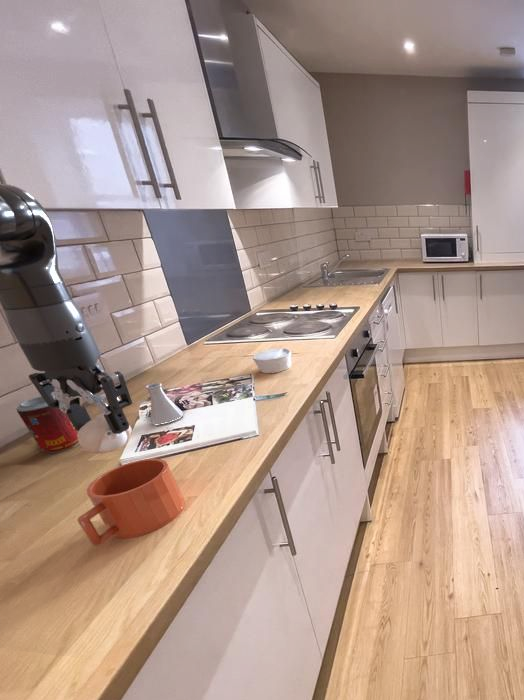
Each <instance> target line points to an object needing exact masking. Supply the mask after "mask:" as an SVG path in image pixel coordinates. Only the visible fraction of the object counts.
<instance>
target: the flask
mask: <svg viewBox="0 0 524 700" xmlns="http://www.w3.org/2000/svg"><path fill="white" fill-rule="evenodd" d="M145 389H146V390H147V391H148V393H149V398H150V418H149V419H150V422H151V423H154V424H161V423H165V422H170V421H172V420H175V419H177V418H179V417H182V414H183V413H184V411H182V409H180V408H179V406H177V404H175V403H174V402H173V401H172V400H171V399H170V398H169V397H168V396H167V395H166V393H165V391H164V390H163V388H162V383H161V382H153V383H149V384H147V385H145Z"/></svg>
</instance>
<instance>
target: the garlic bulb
mask: <svg viewBox="0 0 524 700" xmlns="http://www.w3.org/2000/svg"><path fill="white" fill-rule="evenodd" d="M107 406H109V403H107ZM132 432H133V431H132V427H131V426H130V425H129V429H127V430H126V431H124V432H122V433H120V434H114V433H112V431H111V429H110V427H109V425H108V423H107V421H106V419H105V417H104V413H103V412H102V411H101V413H99V414H97V415H95V416H94V417H93V418H91V420H90V421H89V422H87V423H86V424H85V425H84V426H82V427H81V429H80V430H79V432H78V434H77V437H78V441H79V444H78V445H80V447H81V448H82V450H84V451H85V452H88V453H92V454H96V455H98V454H105V453H106V454H107V453H111V452H115V451H117V450H119V449H121V448H122V447H124V446H125V445H126V444H127V443H128V442H129V441H130V439H131V437H132Z"/></svg>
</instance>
